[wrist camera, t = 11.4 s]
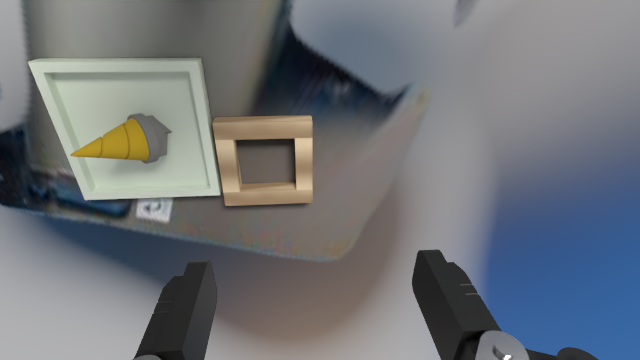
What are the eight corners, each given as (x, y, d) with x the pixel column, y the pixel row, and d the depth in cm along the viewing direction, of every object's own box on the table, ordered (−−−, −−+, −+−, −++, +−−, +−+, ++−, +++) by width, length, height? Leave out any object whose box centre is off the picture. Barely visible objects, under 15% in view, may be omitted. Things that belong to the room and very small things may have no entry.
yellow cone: (173, 159, 40) (78, 186, 33) (156, 117, 40) (55, 136, 33) (190, 148, 36) (86, 176, 30) (170, 101, 36) (60, 119, 29)
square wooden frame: (215, 117, 38) (212, 123, 36) (311, 115, 39) (312, 121, 37) (227, 197, 44) (225, 205, 42) (311, 194, 45) (312, 202, 43)
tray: (39, 58, 34) (27, 61, 32) (201, 57, 35) (197, 61, 33) (92, 192, 42) (84, 200, 40) (222, 187, 43) (220, 195, 41)
